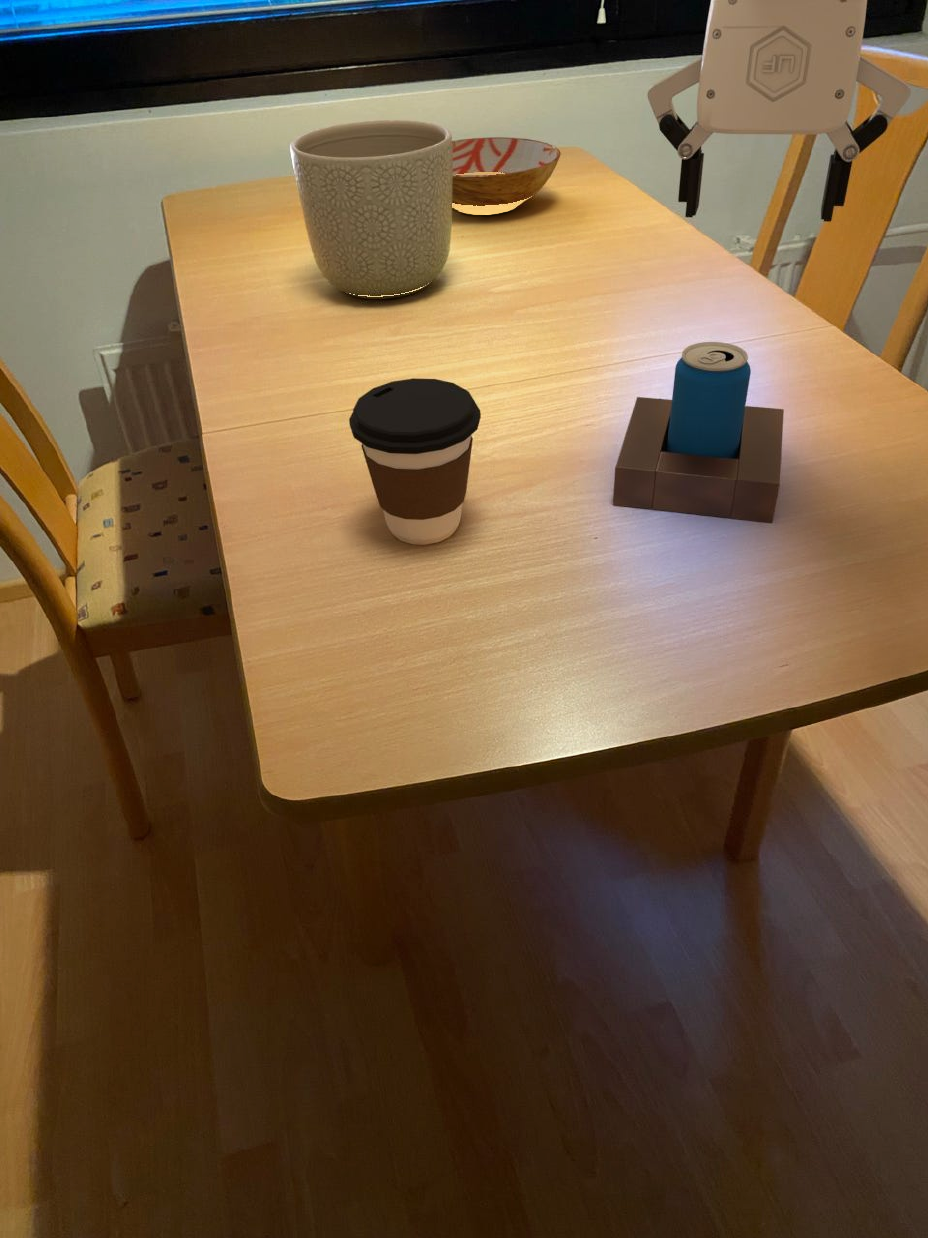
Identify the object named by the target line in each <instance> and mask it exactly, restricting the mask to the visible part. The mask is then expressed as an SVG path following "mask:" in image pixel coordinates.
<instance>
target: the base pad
mask: <svg viewBox="0 0 928 1238" xmlns="http://www.w3.org/2000/svg"><path fill="white" fill-rule="evenodd" d="M671 405H672V399H666V398H656V397H655V398H654V397H643V396H642V397H641V396H637V397H636V400H635V403H634V406H633V409H632V411H631V416H630V419H629V422H628V425H627V428H626V431H625V435H624V438H623V441H622V444H621V448H620V450H619V454H618V457H617V460H616V464H615V467H614V479H613V495H612V506H619V507H629V508H637V509H638V508H639V509H647V510H655V511H662V512H663V511H665V512H674V513H683V514H692V515H699V516H708V517H717V518H726V519H734V520H743V521H750V522H759V523H769V524H772V523H773V522H774V517H775V511H776V506H777V501H778V495H779V491H780V486H781V470H782V451H783V450H782V449H783V433H784V431H783V430H784V416H785V415H784V411H785V409H784V408H776V407H775V408H774V407H773V408H772V407H763V406H750V405H745V411H744V417H743V423H742V429H741V435H740V442H739V448H738V454H737V459H731V458H720V457H710V456H700V455H690V454H680V453H670V452H667V442H668V433H669V424H670V414H671Z"/></svg>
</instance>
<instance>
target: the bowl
mask: <svg viewBox="0 0 928 1238" xmlns="http://www.w3.org/2000/svg"><path fill="white" fill-rule="evenodd" d="M561 154H562V152H561V151H560V149H559V148H558V147H557V146H555V145H552V144H550V143H548V142H544V141H541V140H536V139H529V138H520V137H507V136H505V137H503V136H501V137H500V136H498V137H497V136H496V137H474V138H465V139H464V138H463V139H457V140H452V157H453V190H452V203H455V204H461V205H473V206H476V205H477V206H485V205H499V204H508V203H513V202H517V201H520V200H524V199H527V198H529V197H531V196H533V195H534V196H536V195H537V194H538V193H539V191H540V190H541V189H542V188H543V187H544V186H545V185H546V183H547V182H548V181H549V179H550V178H551V176H552V175H553V173H554V171H555V169H556V167H557V165H558V162H559V160H560V157H561ZM474 172H501V173H502V172H503V173H505V174H496V175H456V174H464V173H474ZM537 192H538V193H537ZM534 196H533V197H534Z"/></svg>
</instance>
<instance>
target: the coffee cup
mask: <svg viewBox="0 0 928 1238" xmlns="http://www.w3.org/2000/svg"><path fill="white" fill-rule="evenodd" d="M481 418H482V415H481V409H480V408H479V406H478V404H477V402H476V400H475V399H474V398H473V396H472V394H471V392H470V391H469V390H467V389H465V388H463V387H462V386H459V385H458V384H456V383H455V382H452V381H446V380H441V379H437V378H416V377H415V378H407V379H399V380H394V381H390V382H386V383H384V384H381V385H378V386H376V387H373V388H372V389H370V390H368V391H367V392H366V393H364V394H363V395H361V396H360V397H358V399H357V401H356V402H355V405H354V407H353V408H352V413H351V415H350V416H349V419H348V421H349V423H348V424H349V429H350V431H351V433H352V437H353V438H354V439H355V440H356V441H358V442H359V443H361V446H360V447H361V449H362V453H363V456H364V459H365V463H366V466H367V469H368V473H369V477H370V480H371V483H372V487H373V489H374V492H375V496H376V499H377V502H378V504H379V507H380V509H382V512H383V516H384V519H385V522H386V525H387V528H388V530H389V531H390V532H391V534H392V535H393V536H394V537H396V538H397V539H398V540H399V541H401V542H404V543H407V544H411V545H420V546H421V545H422V546H426V545H432V544H437V543H440V542H442V541H444V540H447V539H449V538H450V537H451V536H452V535H453V534H454V533H455V532H456V531H457V529H458V527H459V525H460V523H461V518H462V512H463V505H464V502H465V498H466V494H467V489H468V480H469V473H470V466H471V465H470V464H471V459H472V458H471V457H472V448H473V442H474V439H473V436H472V435H473V434H475V432H477V431H478V429H479V425H480V421H481Z"/></svg>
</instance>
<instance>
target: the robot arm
mask: <svg viewBox="0 0 928 1238" xmlns="http://www.w3.org/2000/svg"><path fill="white" fill-rule="evenodd" d="M867 4H868V0H710V4H709V9H708V14H707V15H708V16H707V22H706V26H705V27H706V28H705V35H704V40H703V48H702V55H701V57H699V58H698V59H696V60H694V61H692V62H691V63H688V64H687V65H685V66H684V67H682V68H679V69H678V70H677V71H675V72H673V73H671V74H670V75H668V76H666V77H665V78H663V79H661V80H659V81H657V82H656V83H654V84H652V85H651V87H650V88H649V89H648V91H647V99H648V102H649V104H650V107H651V110H652V112H653V115H654V117H655V119H656V121H657V124H658V129H659V131H660V132H661V134H662V135H663V136H664V137H665V138H666V140H667V141H668V142H669V143H670V145H671V146H672V147H673V148H674V149H675V151H677V155H678V157H679V158H680V159H681V162H680V163H681V164H680V175H679V183H678V184H679V185H678V197H677V202H678V203H686V205H685V215H684V216H685V218H693V217H695V216H696V215H697V212H698V209H699V206H700V199H701V198H700V197H701V187H702V179H703V178H702V177H703V169H704V159H705V152H702V146H703V145H704V143H705V142H706V141H707V140H708V139H709V138H710V137H711V136H712V135H713V134H714V133H715V134H724V135H822V134H826V135H827V137H828V138H829V140H830V142H831V143H832V145H833V146H834V151H833V154H830V157H829V162H828V167H827V168H828V169H827V173H826V178H825V184H824V190H823V197H822V202H821V206H820V220H823V222H829V223H830V222H832V220H833V213H834V210H835V209H834V208H835V207H844V206H845V201H846V197H847V193H848V187H849V182H850V176H851V170H852V166H853V161H855V160H856V159H857V158H858V157H859V155H860V154H861V153H862V152H863V151H864V150H866V149H867V148H868V147H869V146H870V145H872V144H873V143H874V142H875V141H876V140H878V139H879V138H880V137H881V136H883V134H885V132H886V131H887V129H888V127H889V125H890V124H891V123H892V121H893V120H894V119H895V118H896V116H897V115H898V113H899V112H900V111H901V109H902V108H903V106H904V105H905V104H906V102H907V101H908V100H909V98H910V97H911V93H912V92H911V88H910V86H909V84H908V83H907V82H906V81H904V80H902V79H901V78H899V77H898V76H896V75H894V74H893V73H891V72H889V71H888V70H886V69H885V68H883V67H882V66H880V65H878V64H877V63H875V62H873V61H872V60H870V59H868V58H867V57H865V56H863V55H862V54H861V53H862V46H863V39H864V32H865V31H864V30H865V24H866V17H867V16H866V14H867ZM857 83H859V84H861V85H862V86H864V87H865V88H867V89H869V90H870V91H871V92H873V93H875V94H877V95H879V96H880V98H881V99H880V102H879V103H878V105H877V107H876V108H875V110H874V111H873V113H872V114H870V115H869V116H868V117H867V118H866V119H865V120H864V121H862V122H861V123H860V124H858V125H857V126H856V127H855V128H854V129H853V128H852V126H851V124H850V123H849V121H848V118H849V116H850V113H851V108H852V105H853V101H854V95H855V91H856V84H857ZM696 84H698V87H697V97H696V121H695V123H694V124H693V125H692V126H691V127H690V128H689V127H688V126H687V124H686V123H685V122H684V121H683V120H682V118H681V117H680V116H679V115H678V113H676V110H675V107H674V103H673V97H674V96H676V95H678V94H681V93H682V92H683V91H685V90H687V89H690V87H692V86H694V85H696Z"/></svg>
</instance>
